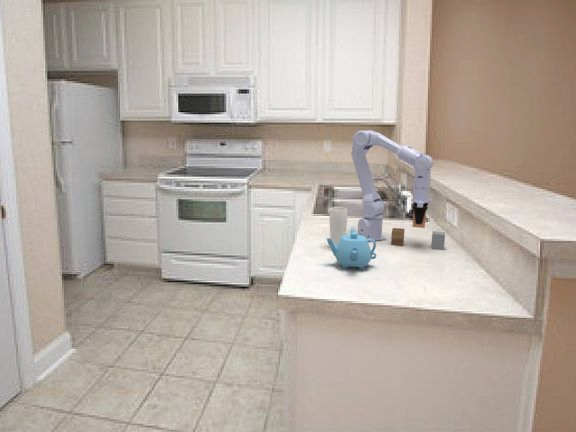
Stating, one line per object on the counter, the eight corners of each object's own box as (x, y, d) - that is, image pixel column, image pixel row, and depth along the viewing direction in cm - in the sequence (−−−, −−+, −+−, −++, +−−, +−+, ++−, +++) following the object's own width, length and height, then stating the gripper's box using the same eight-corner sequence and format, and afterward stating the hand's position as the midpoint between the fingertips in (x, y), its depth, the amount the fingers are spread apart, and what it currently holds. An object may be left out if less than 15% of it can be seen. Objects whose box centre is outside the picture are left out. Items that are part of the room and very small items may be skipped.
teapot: (321, 263, 148) (322, 231, 146) (350, 256, 156) (352, 225, 154) (353, 276, 136) (354, 241, 134) (383, 268, 144) (385, 235, 142)
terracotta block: (424, 227, 165) (425, 212, 164) (412, 226, 166) (413, 211, 165) (424, 225, 169) (426, 210, 168) (412, 224, 171) (414, 209, 169)
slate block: (443, 250, 165) (445, 234, 163) (431, 249, 166) (432, 233, 165) (443, 246, 169) (444, 232, 168) (431, 245, 170) (432, 231, 169)
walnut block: (402, 246, 169) (403, 231, 168) (391, 245, 170) (391, 230, 169) (403, 243, 173) (404, 228, 172) (392, 242, 175) (392, 227, 173)
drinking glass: (325, 245, 169) (326, 207, 165) (340, 243, 171) (342, 206, 168) (333, 250, 163) (335, 211, 159) (349, 248, 165) (351, 209, 162)
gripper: (432, 191, 157) (429, 227, 160) (432, 185, 170) (429, 219, 173) (412, 189, 159) (409, 226, 162) (413, 184, 172) (411, 217, 175)
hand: (418, 222), depth 168 cm, fingers closed on terracotta block, 4 cm apart
